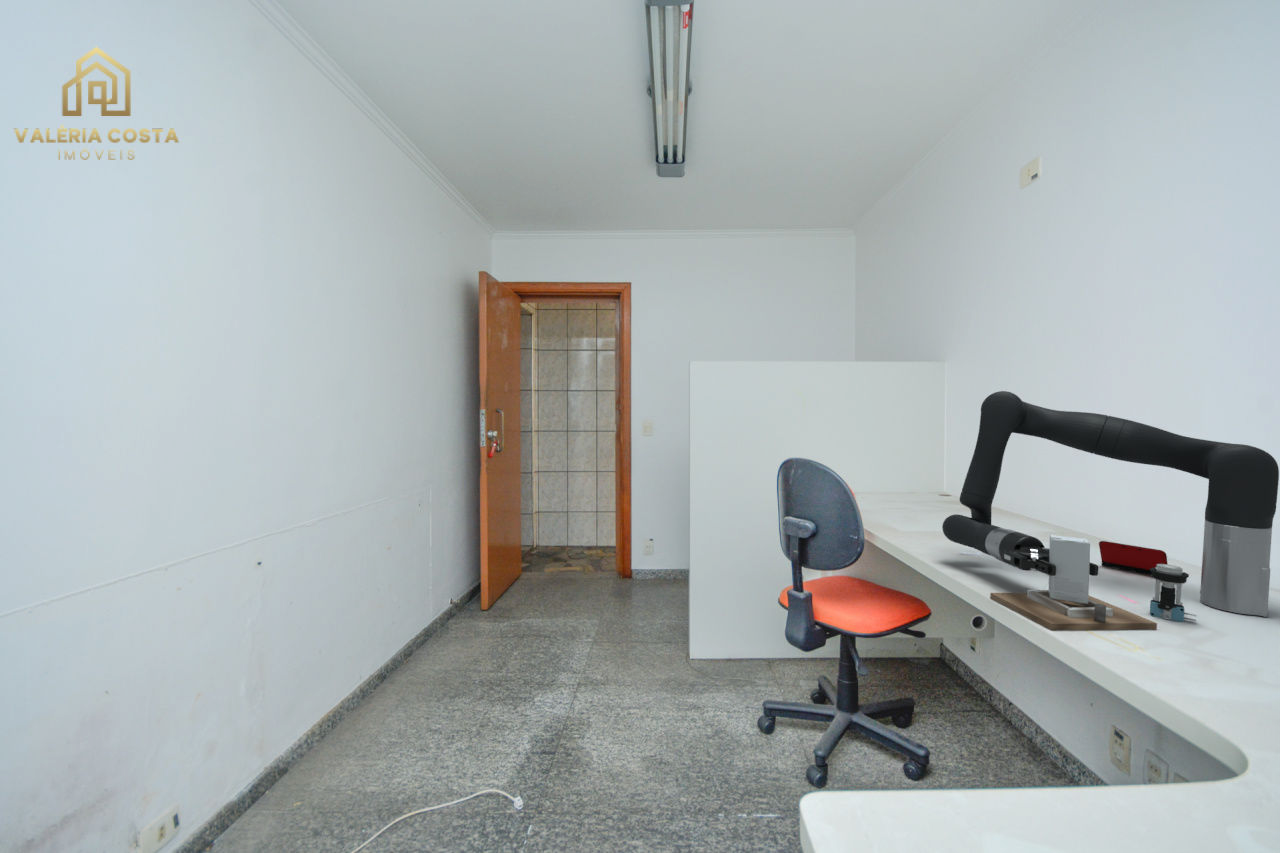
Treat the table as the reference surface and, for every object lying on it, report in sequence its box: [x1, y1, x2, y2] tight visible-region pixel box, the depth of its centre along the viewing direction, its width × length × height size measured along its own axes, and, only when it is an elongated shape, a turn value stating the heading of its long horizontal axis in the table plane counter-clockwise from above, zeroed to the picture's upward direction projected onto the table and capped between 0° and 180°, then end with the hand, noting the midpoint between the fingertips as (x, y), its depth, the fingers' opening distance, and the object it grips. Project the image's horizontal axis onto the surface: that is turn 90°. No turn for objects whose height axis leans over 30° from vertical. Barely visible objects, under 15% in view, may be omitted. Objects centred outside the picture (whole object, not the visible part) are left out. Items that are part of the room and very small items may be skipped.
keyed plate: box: [989, 589, 1158, 631], centre depth 107 cm, size 20×16×4 cm
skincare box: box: [1048, 534, 1091, 604], centre depth 106 cm, size 6×4×12 cm
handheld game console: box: [1098, 540, 1168, 576], centre depth 135 cm, size 12×11×7 cm
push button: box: [1149, 563, 1197, 623], centre depth 104 cm, size 7×5×10 cm
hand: (1075, 570), depth 105 cm, fingers open, 8 cm apart
